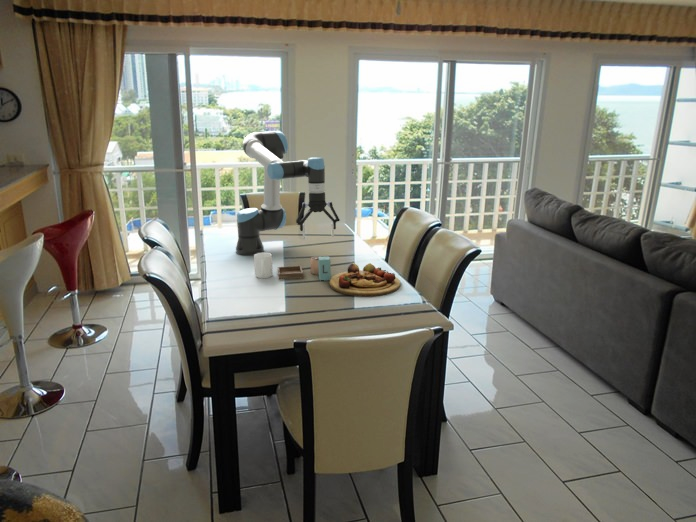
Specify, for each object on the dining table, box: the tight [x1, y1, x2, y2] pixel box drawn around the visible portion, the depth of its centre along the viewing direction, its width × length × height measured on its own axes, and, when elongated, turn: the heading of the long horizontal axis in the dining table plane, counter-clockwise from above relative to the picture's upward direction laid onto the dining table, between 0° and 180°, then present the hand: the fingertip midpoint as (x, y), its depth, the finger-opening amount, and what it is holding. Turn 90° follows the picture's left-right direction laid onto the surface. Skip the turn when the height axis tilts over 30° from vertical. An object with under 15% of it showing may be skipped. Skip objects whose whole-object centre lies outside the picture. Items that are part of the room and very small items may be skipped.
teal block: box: [318, 255, 332, 282], centre depth 244 cm, size 5×5×10 cm
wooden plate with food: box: [329, 262, 402, 298], centre depth 236 cm, size 32×32×8 cm
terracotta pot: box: [310, 255, 322, 276], centre depth 254 cm, size 7×7×7 cm
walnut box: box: [277, 265, 304, 280], centre depth 251 cm, size 11×11×2 cm
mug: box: [253, 252, 273, 279], centre depth 248 cm, size 12×8×10 cm
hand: (318, 236), depth 248 cm, fingers open, 13 cm apart
